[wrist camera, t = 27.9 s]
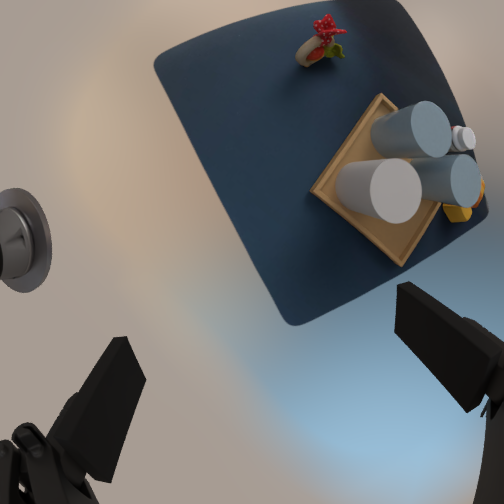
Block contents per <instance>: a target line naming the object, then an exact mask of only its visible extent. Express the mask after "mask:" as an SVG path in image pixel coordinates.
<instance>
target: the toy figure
mask: <svg viewBox="0 0 504 504" xmlns="http://www.w3.org/2000/svg"><path fill="white" fill-rule="evenodd" d="M483 180H484V179H483V177H482V176H481V191H480V195H479V198H478V200H477V202H476V203H475V204H474V205H473V206H472V208H476V207H477V206H478V204H479V202H480V201H481V199H482V197H483V193H484V189H485V184H484V181H483ZM443 210H444V212H445V213H446V215H447V217H448V219H449V220H450V221H451V222H464V221H468V220H469V218H470V216H471V214H472V210H471V208H470V207H469V208H464V207H459V206H454V205H449V204H443Z"/></svg>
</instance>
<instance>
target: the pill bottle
mask: <svg viewBox="0 0 504 504" xmlns="http://www.w3.org/2000/svg"><path fill="white" fill-rule="evenodd" d="M451 132H452V142H451V146H450V149H449V151H448V152H455V151H466V150H469V149H473V148H474V147H475V144H476V139H475V135H474V133H473V131H472V130H471V129H470V128H469V127H461V126H452V127H451Z"/></svg>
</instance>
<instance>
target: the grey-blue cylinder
mask: <svg viewBox="0 0 504 504" xmlns="http://www.w3.org/2000/svg"><path fill="white" fill-rule="evenodd" d="M409 164H410V165H411V166H412V167H413V168H414V169H415V170H416V172H417V174H418V176H419V179H420V182H421V187H422V196H421V199H423V200H428V201H434V202H439V203H444V204H449V205H454V206H459V207H464V208H469V207H472V206H473V205H474V204H475V203H476V202H477V200H478V198H479V195H480V191H481V175H480V172H479V168H478V166H477V164H476V162H475V161H474V160H473V159H472V158H471V157H470V156H468V155H444V156H442V157H439V158H416V159H412V160H411V162H410V163H409Z"/></svg>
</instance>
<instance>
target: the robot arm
mask: <svg viewBox="0 0 504 504" xmlns="http://www.w3.org/2000/svg"><path fill="white" fill-rule="evenodd" d="M33 259H34V241H33V236H32V232H31V229H30V226H29V224H28V222H27V220H26V218H25V217H24V215H23V214H22V213H21V212H20V211H19V210H17V209H16V208H13V207H7V208H3V209H0V280H4V279H18V278H20V277H22V276H24V275H25V274H27V273H28V271H29V270H30V268H31V266H32V263H33ZM396 300H397V301H396V316H395V317H396V318H395V329H394V332H395V334H397V336H398V337H399V338H400V339H401V340H402V341H403V342H404V343H405V344H406V345H407V346H408V347H409V348H410V350H412V352H413V353H414V354H415V355H416V356H417V357H418V358H419V359H420V360H421V361H422V363H423V364H424V365H425V366H426V367H427V368H428V369H429V370H430V371H431V373H432V374H433V375H434V376H435V377H436V378H437V379H438V380H439V382H440V383H441V384H442V385H443V386H444V387H445V388H446V390H447V391H448V392H449V393H450V394H451V395H452V396H453V398H454V399H455V400H456V401H457V402H458V403H459V405H460V406H461V407H462V408H463V409H464V411H465V412H466V413H468V412H470V411H471V410H473V409H474V408H476V407H477V406H479V405H480V403H481V401H482V399H483V397H484V395H485V394H486V395H487V396H488V397H489V399H488V401H487V403H486V405H485V407H484V409H483V411H482V413H481V416H480V417H483V415H484V413H485V412H486V410H487V412H486V430H485V441H484V451H483V457H482V464H481V470H480V475H479V481H478V485H477V489H476V494H475V498H474V501H473V504H504V342H503V341H501V340H500V339H499V338H497V337H496V336H495V335H494V334H492V333H491V332H488V330H487V329H486V328H483V327H482V326H481V325H480V324H479V323H477V322H476V321H475V320H472V319H469V318H466V317H463V318H462V317H460V316H459V315H458V314H456V313H455V312H453V311H452V310H451V309H449V308H448V307H446V306H445V305H443V304H442V303H441V302H439V301H438V300H436V299H435V298H433V297H432V296H430V295H429V294H427V293H426V292H425V291H423V290H422V289H420V288H419V287H417V286H416V285H414V284H413V283H411V282H409V281H408V282H405V283H402V284H398V285H397V299H396ZM145 382H146V378H145V376H144V374H143V372H142V370H141V367H140V365H139V363H138V361H137V359H136V357H135V354H134V352H133V350H132V348H131V345H130V343H129V341H128V338H127V336H124V337H114V338H113V339H112V341H111V342H110V344H109V345H108V347H107V348H106V350H105V351H104V353H103V354H102V356H101V357H100V359H99V360H98V362H97V363H96V365H95V366H94V368H93V370H92V371H91V373H90V374H89V376H88V378H87V379H86V381H85V382H84V384H83V386H82V387H81V389H80V390H79V392H76V393H75V394H74V395H73V396H71V397H70V398H69V399H68V401H67V402H66V404H65V405H64V407H63V409H62V410H61V412H60V415H59V416H58V417H57V419H56V420H55V422H54V424H53V426H52V427H51V429H50V431H49V433H48V434H47V436H46V438H45V436H44V435H43V434H42V433H41V432H40V431H39V429H38V428H37V427H36V426H35V425H34V424H33V423H28V422H27V423H23V424H21V425H20V426H18V427H17V428H16V429H15V430H14V432H13V434H12V440H13V442H14V443H15V444H16V445H17V446H18V447H19V448H20V449H17V448H16V447H15V446H14V445H13V443H12V442H11V441H9V440H2V441H0V504H99V503H98V501H97V499H96V497H95V495H94V492H93V490H92V488H91V486H90V484H89V482H88V481H87V479H85V475H86V473H88V474H89V475H90V476H91V477H92V478H94V479H95V480H97V481H102V482H106V483H111V482H112V478H113V475H114V472H115V469H116V466H117V462H118V459H119V456H120V453H121V450H122V447H123V444H124V441H125V438H126V435H127V432H128V429H129V426H130V423H131V421H132V418H133V415H134V412H135V409H136V406H137V404H138V401H139V398H140V396H141V393H142V390H143V387H144V385H145ZM19 483H20V484H21V485H22V486H23V487H25V491H24V492H22V491H21V490H20V489H19Z"/></svg>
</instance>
